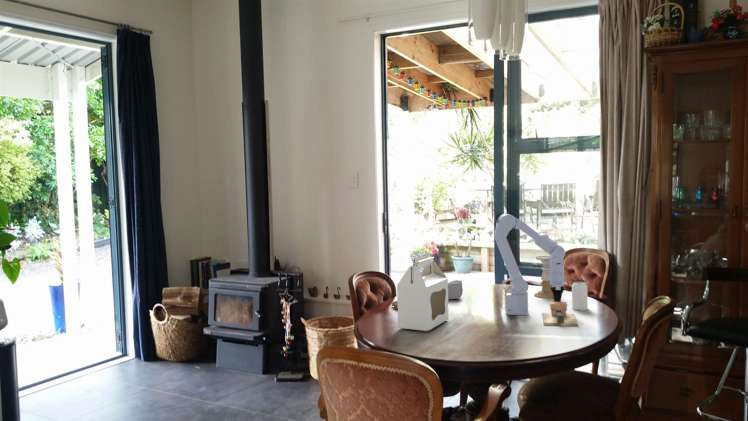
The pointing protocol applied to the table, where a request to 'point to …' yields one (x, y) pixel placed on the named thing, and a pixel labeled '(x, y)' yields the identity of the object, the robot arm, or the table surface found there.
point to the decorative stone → (455, 289)
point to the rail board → (559, 319)
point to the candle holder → (545, 278)
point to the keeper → (558, 307)
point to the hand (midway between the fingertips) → (557, 303)
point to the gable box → (422, 296)
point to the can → (579, 296)
